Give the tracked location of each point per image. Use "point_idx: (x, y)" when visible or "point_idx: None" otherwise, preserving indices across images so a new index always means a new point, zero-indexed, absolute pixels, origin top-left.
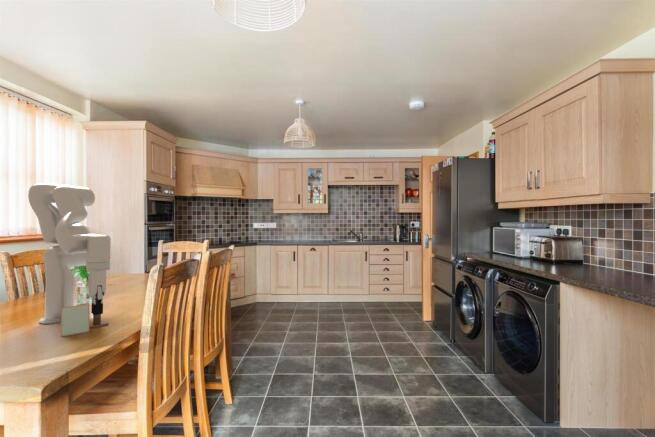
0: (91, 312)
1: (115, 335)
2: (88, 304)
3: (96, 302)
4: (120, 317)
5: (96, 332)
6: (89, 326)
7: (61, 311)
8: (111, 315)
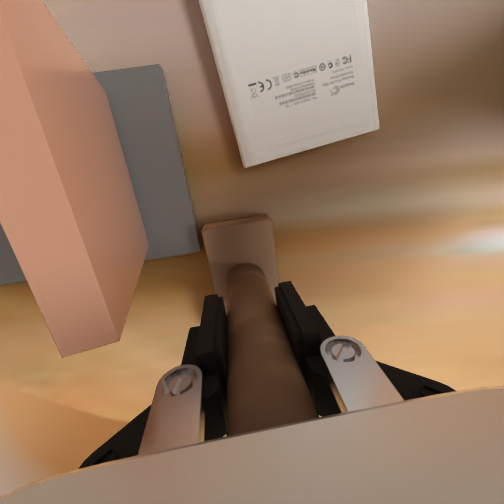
0: (286, 282)
1: (73, 354)
2: (59, 345)
3: (130, 426)
4: (406, 355)
5: (177, 273)
6: (209, 247)
7: None
8: (480, 316)
